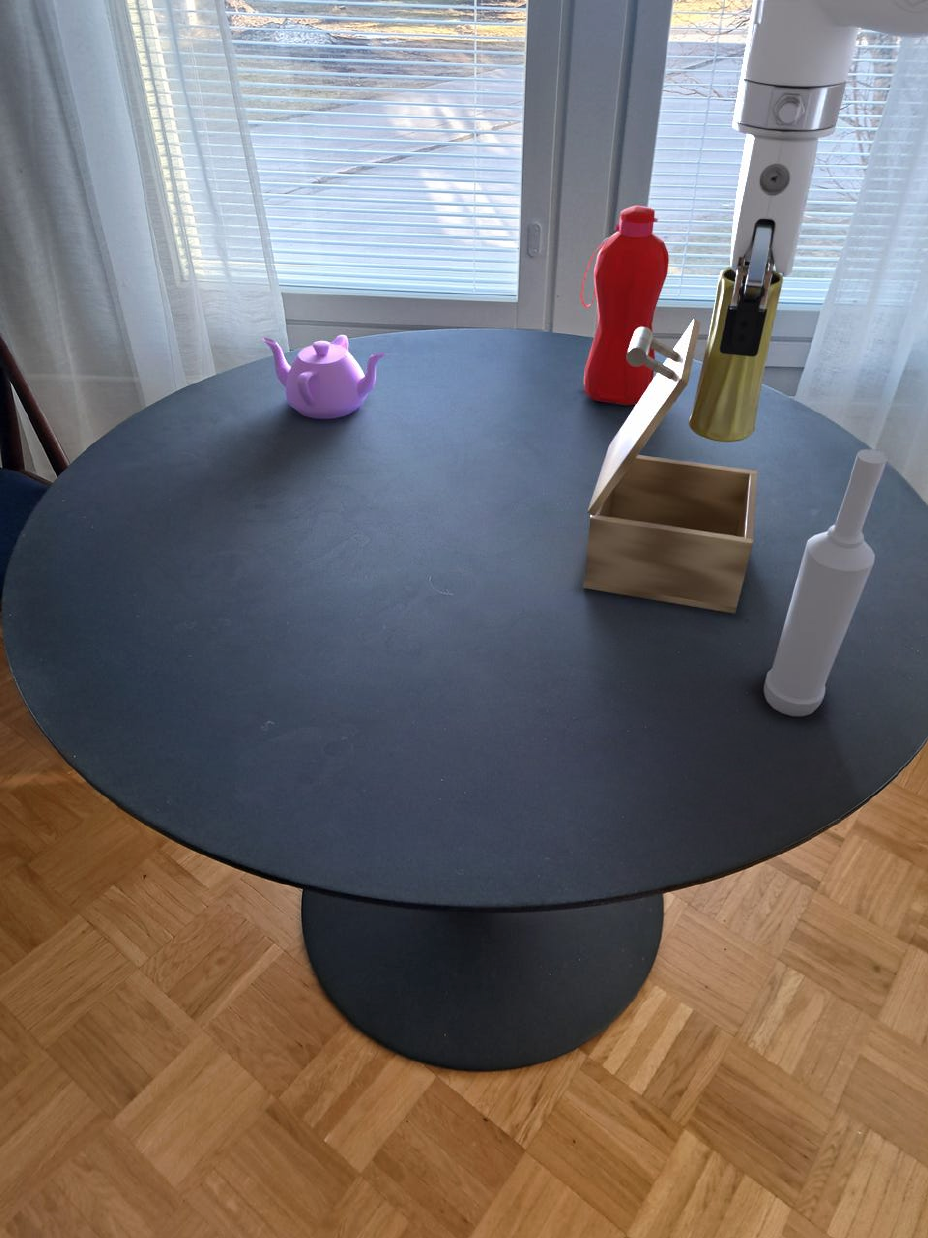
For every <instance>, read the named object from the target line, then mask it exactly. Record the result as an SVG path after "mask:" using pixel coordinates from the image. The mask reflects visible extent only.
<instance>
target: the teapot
mask: <svg viewBox="0 0 928 1238" xmlns="http://www.w3.org/2000/svg"><path fill="white" fill-rule="evenodd" d="M262 340H263V341H264V342H265V343H266V345H267V346H268V347H269V348H270V350H271V353H272V356H273V362H274V370H275V375H276V377H277V379H278V381H279V382H280V384H281V385H282V386H283V387H284V388H285V398H286V401H287V403H288V404H289V405H290V406H291V407H292V408H293V409H294V410H295V411H297V412H298V413H299V414H301V415H302V416H304V417H307V418H312V419H319V420H321V419H322V420H326V419H327V420H329V419H330V420H331V419H337V418H342V417H345V416H348V415H350V414H352V413H354V412H355V411H357V410H358V409H359V408H360V407H361V405H362V404H363V403H364V401H365V400H366V399H367V396H368V395H369V394H370V393H371V392H373V389H374V387H375V385H376V380H377V365H378V362H379V361H380V359H381V358H382V357H384V356H386V354H387V353H386V352H377V353H374V354H372V355H370V356H369V358H368V360H367V364H366V372H365V374H364V371H363V370H362V368H361V367H360V365H359V363H358V362H357V360H356V359H355V358H354V357H353V355H352V354H351V353H350V352H349V340H348V337H347V335H345V334H340V335H338V336H337V337H336V338H335V339H334V340H333V341H332V343H330V342H329V341H326V340H319V341H315V342H313V344H312V345H309V346H306V347H304V348H302V349H301V350H299V352H298V353H297V354H296V356H295V358H294V359H293V362H292V364H291V366H290V365H289V364H288V362H287V360H286V358H285V355H284V352H283V349H282V347H281V346H280V345H279V343H278V342H276V341H275V340H273V339H272V338H269V337H262Z"/></svg>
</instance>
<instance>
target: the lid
mask: <svg viewBox="0 0 928 1238" xmlns="http://www.w3.org/2000/svg"><path fill="white" fill-rule="evenodd" d="M701 324H702V323H701V321H699V320H697V319H696V318H693V320H692V321H691V323H690V324H689V326H688V327H687V329H686V330H685V332H684V333H683V335H682V336H681V338H680V339H679V340H678V342H677V343H676V345H675V346H674V348H673V349H672V348H671V347H669V346H668V345H665V344H664V343H663V342H661V341H659V340H657V339H655V338H654V332H653V333H652V331H651V330H650V329H649V328H647V327H640V328H638V329H637V330H636V331H635V333H634V336H633V338H632V341H631V344H630V347H629V350H628V353H627V361H628V363H629V364H630V365H632V366H635V367H638V366H641V365H645V366H646V367H648V368H650V369H652V370H653V371H654V373H656V375H655V376H654V377H653V381H652V382H651V384H650V385H649V387H648V388H647V390H646V391H645V393H644V394H643V396H642V397H641V399H640V400H639V402H638V403H637V404H635V406H634V407H633V409H632V411H631V412H630V414H629V415H628V417H627V418H626V419H625V421H624V423H623V424H622V426H621V427H620V429H619V430H618V431H617V433H616V435H615V436H614V437H613V439H612V441H611V442H610V444H609V446H608V447H607V451H606V454H605V457H604V460H603V463H602V466H601V470H600V473H599V476H598V478H597V482H596V484H595V487H594V491H593V493H592V497H591V499H590V503H589V506H588V508H587V513H588V514H589V515H590V516H591V515H593V516H595V514H596V513H597V512H598V510H599V509H600V507H601V506H602V504H603V503H604V502H605V500H606V499H607V497H608V496H609V495H610V493H611V492H612V490H613V489H614V487H615V486H616V485H617V483H618V482H619V480H620V479H621V478H622V476H623V475H624V473H625V472H626V470H627V469H628V468H629V466H630V465H631V463H632V462H633V461H634V459H635V458H636V456H637V455H639V454H640V452H641V451H642V450H643V448H644V447H645V445H646V444H647V442H648V441H649V440H650V439H651V437H652V435H653V434H654V432H655V431H656V430H657V428H658V427H659V425H660V424H661V423H662V422H663V420H664V418H665V417H666V416H667V414H668V413H669V411H670V410H671V408H672V407H673V406H674V404H675V402H676V401H677V400H678V398H679V397H680V396H681V394H682V393H683V391H684V390H685V389H686V387H687V386H688V384H689V381H690V376H691V371H692V367H693V363H694V357H695V352H696V348H697V342H698V339H699V333H700V328H701ZM650 348H651V349H653V350H654V352H656V353H658V354H660V355H662V356H663V357H665V358H666V359H665V361H664V363H663V362H660V361H658V360H656V358H655V359H653V358H651V357H650V356H648V352H649V349H650Z"/></svg>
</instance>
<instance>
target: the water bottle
mask: <svg viewBox="0 0 928 1238" xmlns="http://www.w3.org/2000/svg"><path fill="white" fill-rule="evenodd" d="M655 215H656V210H655V209H653V208H651V207H649V206H644V205H633V206H629V207H627V208H624V209H622V210H621V211H620V214H619V222H618V223H616V224H615V225H614V229H613V233H612V234H611V235H609V236H608V237H606V238H605V239H604V240H603V241H602V243H601V245H599V247H598V248H596V250H595V251H594V252H593V254H592V256H591V257H590V260H589V262H588V265H587V267H586V271H585V274H584V278H583V282H582V285H581V291H580V297H581V298H580V300H581V303H582V305H583V306H584V307H588V308H589V307H590V306H591V305H593V303H594V300H595V299H596V308H597V326H596V330H595V334H594V337H593V339H592V343H591V346H590V350H589V353H588V356H587V359H586V362H585V366H584V375H583V387H584V392H585V395H586V396H588V397H589V398H590V399H591V400H593V401H594V402H601V403H608V404H615V405H621V406H626V407H628V406H633V405H637V403H638V402H639V400H640V399H641V397H642V396H643V394H644V393H645V391H646V390H647V388H648V387H649V385H650V384H651V382H652V381H653V379H654V377H655V376H654V374H655V371H653V370H652V369H650V368H648V367H646V366H645V365H641V366H638V367H635V366H632V365H630V364H629V363H628V361H627V353H628V350H629V347H630V344H631V341H632V338H633V336H634V333H635V331H636V330H637V329H638V328H640V327H647V328H649V329H650V330H651V331H652V333H653V334H654V332H653V321H654V315H655V310H656V308H657V306H658V305H657V304H658V301H659V299H660V297H661V293H662V290H663V287H664V284H665V282H666V278H667V276H668V272H669V261H670V259H669V251H668V249H667V247H666V244H665V242H664V241H663V240H662V239H661V238H660V237H659V236H658V235H656V234H655V233H654V223H657V222H658V220H659V218H657V217H655ZM598 250H599V252H598V253H597V255H596V259H595V260H596V261H595V266H594V271H593V282H594V289H593V298H592V300H591V301H592V302H591V303H590V304H585V303H584V300H583V291H584V284H585V280H586V277H587V275H588V274H587V273H588V271H589V267H590V264H591V261H592V260H593V257H594V255H595V253H596V252H597V251H598ZM655 354H656V353H655V350H653V349H651V348H650V349H649V352H648V356H650V357H651V358H653V359H655V360H656V355H655Z"/></svg>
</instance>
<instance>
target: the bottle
mask: <svg viewBox="0 0 928 1238" xmlns="http://www.w3.org/2000/svg"><path fill="white" fill-rule="evenodd" d="M887 462H888V457H887V455H886V454H885V453H883V452H882V451H879V450H877V449H871V448H869V449H867V448H866V449H860V450H859V451H858V452H857V454H856V457H855V460H854V462H853V463H854V464H853V467H852V469H851V473H850V476H849V481H848V484H847V486H846V487H847V488H846V490H845V494H844V496H843V499H842V502H841V505H840V508H839V512H838V515H837V517H836V521H835V523H834V524H833V525H831V526H830V527H829V528H828V530H827V531H824V532H821V533H817V534H814V535H812V536H811V537H810V538H809V539H808V540H807V542H806V544H805V549H804V552H803V556H802V560H801V564H800V567H799V571H798V574H797V576H796V577H797V578H796V580H795V585H794V588H793V591H792V595H791V599H790V603H789V606H788V609H787V613H786V617H785V621H784V623H783V629H782V632H781V636H780V639H779V643H778V645H777V650H776V653H775V657H774V661H773V664H772V668H771V669H770V670H769V671H768V672H767V674H766V676H765V681H764V685H763V693H764V694H763V695H764V697H765V700H766V702H767V704H769V705H770V707H771V708H772V709H774V710H776V711H777V712H779V713H780V714H784V715H787V716H791V717H805V716H808V715H811V714H813V713H814V712H815V711H816V710H817V709H818V708H819V706H821V704H822V703H823V700H824V697H825V696H826V695H825V694H826V690H827V689H826V683H827V681H828V678H829V676H830V673H831V671H832V668H833V666H834V663H835V660H836V659H837V656H838V654H839V650H840V649H841V646H842V643H843V641H844V638H845V636H846V634H847V631H848V628H849V626H850V623H851V621H852V618H853V616H854V614H855V612H856V608H857V606H858V604H859V601H860V598H861V596H862V593H863V591H864V588H865V585H866V584H867V581H868V579H869V576H870V573H871V571H872V569H873V566H874V565H875V564H874V563H875V559H876V558H875V557H876V554H875V552H874V550H873V549H872V547H871V546H870V545H869V544H868V543H867V542H866V541H865V535H864V532H862V531H863V528H864V525H865V522H866V520H867V516H868V513H869V510H870V507H871V505H872V502H873V499H874V496H875V493H876V491H877V487H878V485H879V483H880V481H881V478H882V475H883V473H884V470H885V468H886V464H887Z"/></svg>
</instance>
